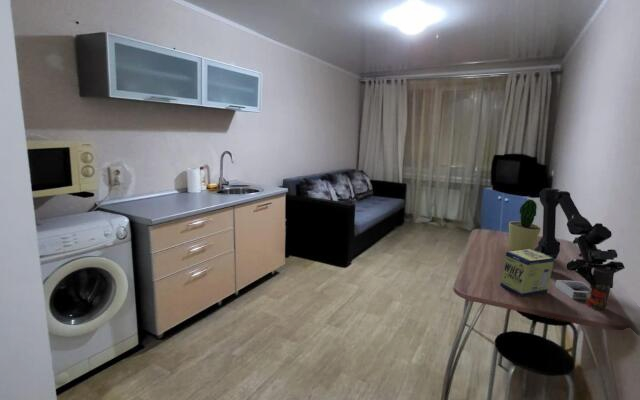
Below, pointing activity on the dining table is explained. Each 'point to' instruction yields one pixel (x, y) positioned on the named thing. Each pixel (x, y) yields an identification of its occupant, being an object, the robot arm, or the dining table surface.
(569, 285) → the collar
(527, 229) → the potted cactus
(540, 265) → the protein box
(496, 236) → the dining table surface
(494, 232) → the dining table surface
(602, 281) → the deodorant
